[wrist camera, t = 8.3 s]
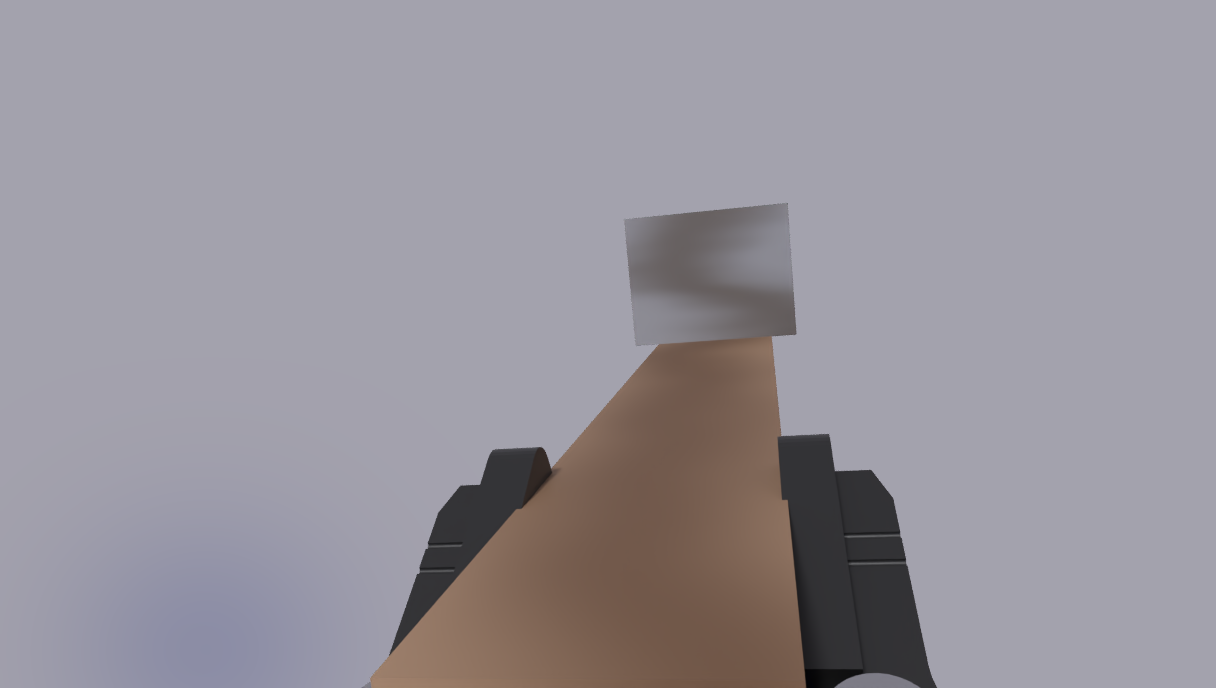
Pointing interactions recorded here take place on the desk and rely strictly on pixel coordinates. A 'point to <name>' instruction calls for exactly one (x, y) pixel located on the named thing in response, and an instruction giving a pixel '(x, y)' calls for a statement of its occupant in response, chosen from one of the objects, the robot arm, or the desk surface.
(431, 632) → the hammer
